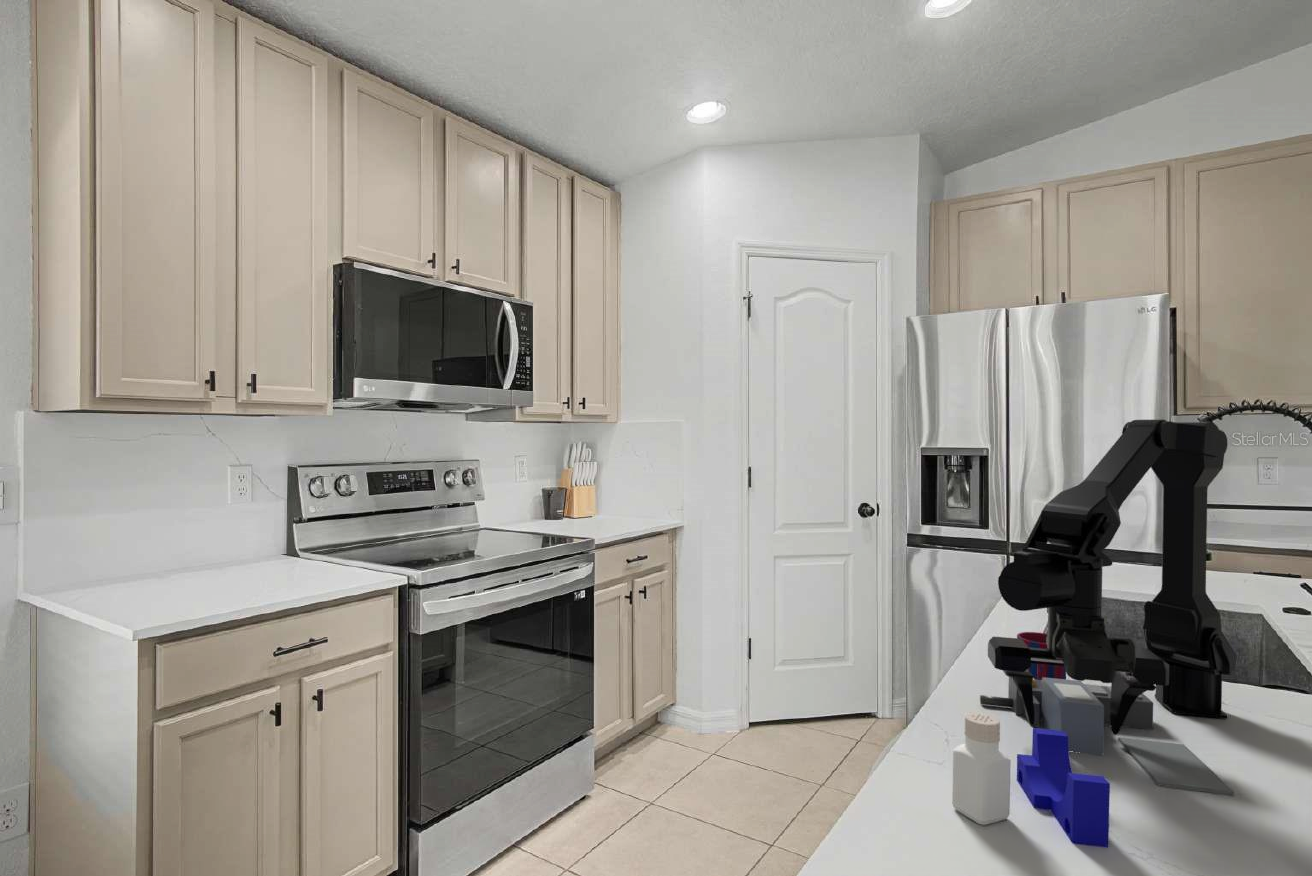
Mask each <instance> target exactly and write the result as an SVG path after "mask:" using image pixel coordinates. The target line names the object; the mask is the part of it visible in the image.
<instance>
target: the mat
mask: <svg viewBox="0 0 1312 876" xmlns="http://www.w3.org/2000/svg"><path fill="white" fill-rule="evenodd" d="M1117 740H1118V742H1119V743H1120V744H1121V745H1122V746H1123V747H1124V748H1125V749H1124V750H1125V751H1127V752H1128V753H1129V755H1130V756H1131V757H1132V758H1133V760H1135V761H1136V763H1137V764H1138V765H1139V766H1140V767H1141V768H1142V769H1143V771H1144V772H1145V773H1146V774H1147V775H1148V776H1149V777H1150V778H1151V780H1153V782H1154V783H1155V784H1156V785H1157V786H1158V787H1165V788H1166V787H1167V788H1173V789H1181V790H1187V791H1188V790H1190V791H1196V792H1203V793H1211V794H1220V795H1228V796H1229V795H1230V796H1235V793H1236V792H1235V790H1234V789H1232V788H1231V787H1230V785H1228V784H1227V783H1226V782H1225V781H1224V780H1223V779H1221V777H1220V776H1218V774H1217V773H1215V772H1214V771H1213V770H1212V769H1211V768H1210V767H1209V766H1208V765H1207V764H1206V763H1204V762H1203V761H1202V760H1201V759H1200V758H1199V757H1198V756H1197V755H1196V754H1195V753H1194V752H1193V751H1192V750H1190V749H1189V748H1188V747H1187V746H1186V745H1185V744H1184V743H1176V742H1175V743H1174V742H1169V741H1168V742H1166V741H1159V740H1148V739H1140V738H1131V737H1121V736H1118V737H1117Z"/></svg>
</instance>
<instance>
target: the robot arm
mask: <svg viewBox="0 0 1312 876" xmlns="http://www.w3.org/2000/svg"><path fill="white" fill-rule="evenodd" d="M1228 446H1229V445H1228V437H1227V434H1226V433H1225V432H1224V430H1221V429H1219V427H1218V425H1217V424H1216V423H1215V422H1211V421H1190V422H1189V421H1186V422H1185V421H1182V422H1181V421H1176V422H1175V421H1170V420H1169V421H1167V419H1164V418H1163V419H1158V418H1157V419H1134V420H1133V419H1132V420H1131V421H1128V422H1126V423H1125V424H1124V425H1123V428H1122V432H1121V435H1120V437H1119V438H1118V439H1117V440H1116V441H1115V442H1114V444H1113V445H1112V446H1111V447H1110V448H1109V450H1108V451H1107V452H1106V453H1105V454H1104V456H1103V457H1102V458H1101V459H1100V460H1099V462H1098V463H1097V464H1096V465H1095V466H1094V468H1093V469H1092V470H1091V472H1089V474H1087V476H1086V477H1085V479H1083V480H1082V482H1080V483H1079V484H1077V485H1075V486H1073V487H1070V488H1067V489H1065V490H1063V491H1060V492H1059V493H1057V494H1056V495H1055V496H1054V497H1053V498H1052V499H1050V500H1049V501H1048V502H1047V503H1046V504H1045V505H1044V507H1043V508H1042V510H1041V512H1040V514H1039V516H1038V518H1037V520H1036V521H1035V524H1034V526H1033V528H1032V530H1031V532H1030V534H1029V536H1028V538H1027V540H1026V541H1025V544H1024V546H1023V547H1022V550H1021V551H1020V550H1019V551H1014V552H1013V561H1012V562H1010V563H1007V564H1006V565H1004V567H1003V568H1002V570H1001V572H1000V575H999V576H998V578H997V584H998V585H997V586H998V591H999V593H1000V595H1001V598H1002V599H1003V601H1005V603H1006V604H1007V605H1008V606H1009V607H1010V608H1013V609H1014V610H1017V611H1021V612H1022V611H1024V612H1027V611H1033V610H1041V609H1046V614H1047V634H1048V636H1046V644H1047V649H1042V648H1031V647H1028V646H1027V645H1026V644H1025V643H1024V641H1023V640H1022V639H1018V638H1017V637H1004V636H992V637H991V638H990V639H989V640H988V642H987V657H988V659H989V660H990V663H991V664H992V666H993V667H994V669H996V670H1000V671H1003V673H1004V674H1005V675H1004V676H1007V677H1008V678H1009V677H1012V678H1013V680H1014V682H1015V684H1016V686H1017V689H1018V692H1019V695H1020V698H1021V701H1022V704H1023V707H1024V710H1025V713H1026V716H1027V719H1028V721H1027V722H1029V723H1028V724H1029V726H1030V725H1034V717H1035V713H1034V702H1033V692H1032V682H1033V675H1032V674H1031V673H1030V671H1029V670H1028V668H1030V667H1031V663H1035V664H1046V665H1057V666H1065V668H1066V676H1068V677H1069V679H1071V680H1076V681H1081V682H1082V681H1095V682H1096V681H1097V682H1101V683H1103V684H1111V685H1110V686H1111V706H1110V723H1111V725H1110V731H1111V733H1112V734H1113V735H1116V736H1117V735H1118V734H1119V732H1120V730H1121V729H1122V727H1123V726H1122V725H1123V723H1124V720H1125V718H1126V716H1127V714H1128V712H1129V710H1130V708H1131V706H1132V705H1133V703H1134V702H1135V700H1136V699H1137V697H1138V696H1139V695H1141V694H1142V693H1143V694H1144V693H1145V692H1149V691H1150V692H1154V691H1155V694H1154V699H1156V700H1157V701H1158V702H1159V703H1161V704H1162V705H1163V706H1164V707H1165V708H1166V709H1167V710H1169V711H1170V712H1171V713H1173V714H1179V715H1189V716H1198V717H1208V718H1217V719H1220V718H1221V719H1228V718H1229V716H1228V714H1227V713H1226V712H1225V711H1224V710H1222V705H1223V703H1222V701H1223V700H1222V699H1223V698H1222V697H1223V694H1222V693H1223V675H1225V676H1226V675H1227V676H1232V675H1233V672H1234V671H1235V669H1236V666H1237V660H1238V658H1237V657H1238V656H1237V653H1236V652H1235V650H1234V648H1233V647H1232V645H1231V644H1230V642H1229V641H1228V639H1227V637H1226V635H1225V634H1224V632H1223V629H1222V620H1221V613H1220V612H1219V610H1218V609H1217V608H1216V606H1215V605H1214V603H1213V602H1212V600H1211V599H1210V597H1209V596H1208V594H1207V545H1208V544H1207V538H1208V537H1207V535H1208V533H1207V532H1208V531H1207V530H1208V525H1207V524H1208V488H1209V486H1210V485H1211V483H1212V482H1213V481H1214V479H1216V477H1217V476H1218V475H1219V473H1220V472H1221V471H1222V469H1223V467H1224V459H1225V454H1226V452H1227V449H1228ZM1150 468H1151V470H1152V471H1153V473H1154V474H1155V476H1156V477H1157V479H1158V480H1159V481H1160V483H1161V485H1162V488H1163V489H1162V490H1163V491H1162V542H1161V543H1162V546H1161V547H1162V550H1161V552H1162V553H1161V554H1162V555H1161V588H1160V590H1159V592H1158V593H1157V594H1156V596H1154V598H1153V599H1151V600H1147V601H1146V602H1145V604H1144V606H1143V610H1144V620H1143V621H1144V623H1143V626H1142V629H1143V633H1144V639H1145V642H1146V643H1145V644H1146V647H1147V648H1146V649H1145V648H1138V647H1136V645H1135V643H1134V641H1133V639H1129V638H1118V637H1117V638H1116V637H1113V638H1111V637H1110V638H1109V637H1108V635H1107V633H1106V629H1105V628H1106V624H1105V617H1103V616H1102V613H1103V612H1102V611H1103V610H1102V608H1103V607H1102V606H1103V600H1102V599H1103V568H1104V567H1111V566H1112V565H1113V560H1112V559H1111V558H1110V557H1109V556H1107V555H1106V553H1104V552H1103V551H1104V550H1105V549H1106V548H1107V547H1108V546H1109V545H1110V544H1111V542H1113V539H1114V537H1115V535H1116V534H1117V532H1118V529H1120V526H1121V524H1122V523H1121V517H1120V512H1119V510H1120V508H1121V507H1122V505H1123V503H1124V502H1125V501H1126V499H1127V498H1128V497H1129V496H1130V494H1132V492H1133V491H1134V489H1135V488H1136V487H1137V485H1138V484H1139V483H1140V482H1141V480H1142V479H1143V478H1144V476H1145V475H1147V474H1146V473H1148V471H1149V470H1150ZM1060 658H1061V659H1060ZM1027 719H1026V720H1027Z"/></svg>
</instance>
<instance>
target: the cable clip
mask: <svg viewBox="0 0 1312 876" xmlns="http://www.w3.org/2000/svg"><path fill="white" fill-rule="evenodd" d="M1031 747H1032V748H1031V749H1032V750H1031V755H1030V754H1023V753H1022V754H1021V753H1017V754H1016V755H1017V756H1016V781H1017V783H1018V785H1019V786H1020V788H1021V789H1022V791H1023V793H1024V794H1025V796H1026V797H1027V799H1028V801H1029V802H1030V804H1031V805H1032V807H1033V809H1039V810H1046V811H1047V810H1048V811H1050V812H1051V813H1052V816H1053V817H1054V818H1055V819H1056V821H1057V823H1058V824H1059V826H1060V827H1061V828H1062V830H1063V832H1064V833H1065V835H1066V836H1067V838H1068V840H1069V841H1070V842H1071V844H1075V845H1082V846H1090V847H1091V846H1092V847H1098V848H1107V849H1109V840H1110V839H1109V837H1110V836H1109V834H1110V833H1109V832H1110V831H1109V829H1110V788H1111V786H1110V785H1111V783H1109V781H1108V779H1106V778H1105V776H1104V775H1096V774H1095V775H1093V774H1087V773H1076V772H1075V773H1074V772H1072V771H1073V770H1072V765H1071V760H1070V752H1069V749H1068V736H1067V735H1066V733H1065V732H1064V731H1060V730H1050V729H1046V728H1039V727H1037V728H1036V727H1032V745H1031Z"/></svg>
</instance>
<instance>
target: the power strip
mask: <svg viewBox="0 0 1312 876" xmlns="http://www.w3.org/2000/svg"><path fill="white" fill-rule="evenodd" d="M1083 684H1084V685H1085V686H1086V687H1087V688H1088V689H1089V690H1090V691H1091V692H1092V694H1093V695H1094V696H1095V697H1096V698H1097V699H1098V700H1099V701H1100V702H1101V703H1102V704H1103V705H1104V726H1111V723H1110V706H1111V687H1112V686H1111V685H1110V686H1108V685H1099V684H1091V683H1090V684H1088V683H1083ZM1032 692H1033V702H1034V713H1035V717H1034V725H1030V724H1029V722H1028V719H1027V716H1026V713H1025V710H1024V707H1023V704H1022V701H1021V698H1020V695H1019V692H1018V689H1017V686H1016V684H1015V682H1014V680H1013V678H1012V677H1008V692H1007V693H1008V697H1001V696H992V695H980V696H979V702H980V705H985V706H992V707H993V706H995V707H1003V708H1004V707H1005V708H1011V709H1012V710H1013V712H1014V714H1015V715H1016V716H1024V718H1025V719H1026V721H1027V722H1028V724H1029V726H1030V727H1035V728H1036V727H1037V728H1039V727H1040V718H1041V719H1042V680H1036V679H1034V678H1033V682H1032ZM1153 724H1154V702H1153V701H1152V700H1151V699H1150V698H1149V697H1148V696H1147V695H1145V694H1144V693H1142V694H1141V695H1139V696H1138V697H1137V699H1136V700H1135V702H1134V703H1133V705H1132V706H1131V708H1130V710H1129V712H1128V714H1127V716H1126V718H1125V720H1124V723H1123V725H1122V727H1126V728H1133V729H1142V730H1150V731H1151V730H1154V728H1153V727H1154V725H1153Z"/></svg>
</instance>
